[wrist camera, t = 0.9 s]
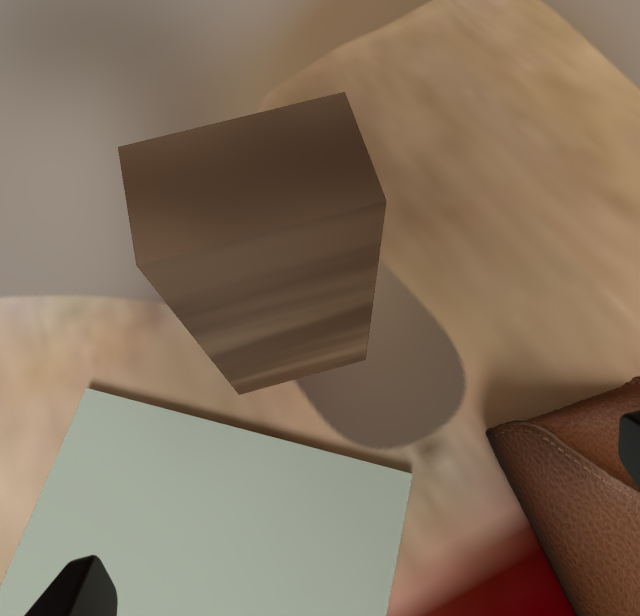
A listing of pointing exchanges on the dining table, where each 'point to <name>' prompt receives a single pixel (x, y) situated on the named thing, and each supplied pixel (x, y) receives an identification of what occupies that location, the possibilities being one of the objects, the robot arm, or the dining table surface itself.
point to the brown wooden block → (262, 237)
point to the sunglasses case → (580, 498)
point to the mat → (210, 519)
